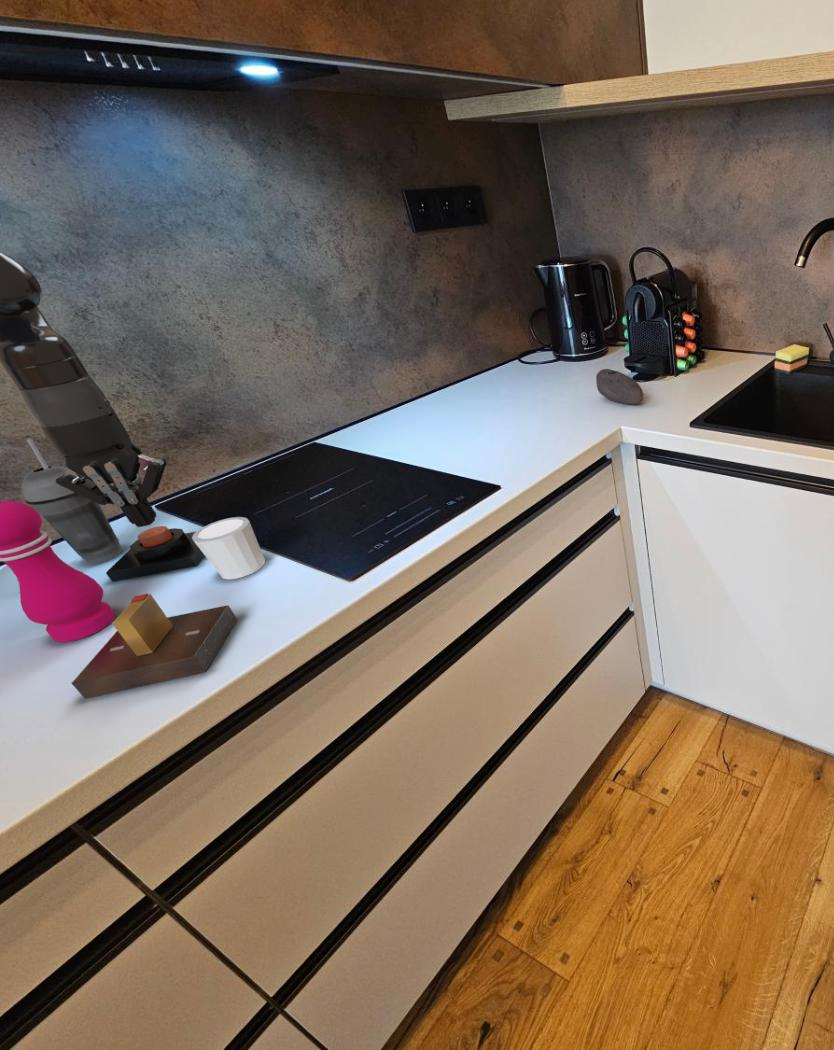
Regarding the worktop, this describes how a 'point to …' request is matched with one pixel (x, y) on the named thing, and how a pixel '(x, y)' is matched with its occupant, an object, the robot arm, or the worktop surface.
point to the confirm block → (157, 557)
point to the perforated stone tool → (619, 387)
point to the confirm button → (154, 536)
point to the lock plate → (158, 654)
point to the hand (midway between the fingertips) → (147, 523)
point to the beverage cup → (70, 513)
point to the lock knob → (143, 624)
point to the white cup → (230, 547)
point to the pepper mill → (49, 578)
